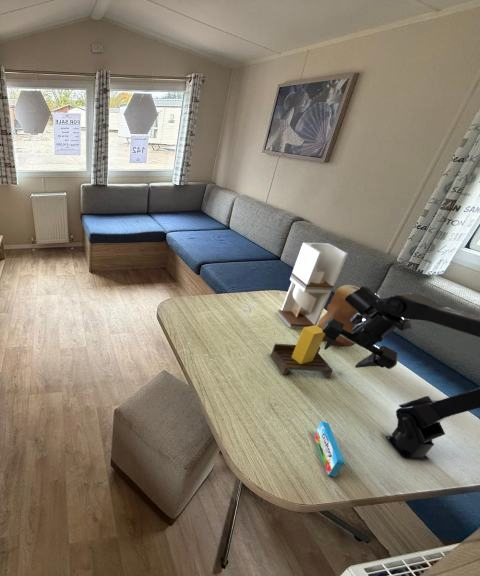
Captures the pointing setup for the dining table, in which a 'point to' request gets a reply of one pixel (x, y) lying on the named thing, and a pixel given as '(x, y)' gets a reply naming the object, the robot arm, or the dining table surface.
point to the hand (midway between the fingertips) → (340, 357)
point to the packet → (308, 344)
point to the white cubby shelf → (311, 283)
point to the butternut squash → (340, 314)
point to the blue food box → (328, 449)
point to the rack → (285, 361)
